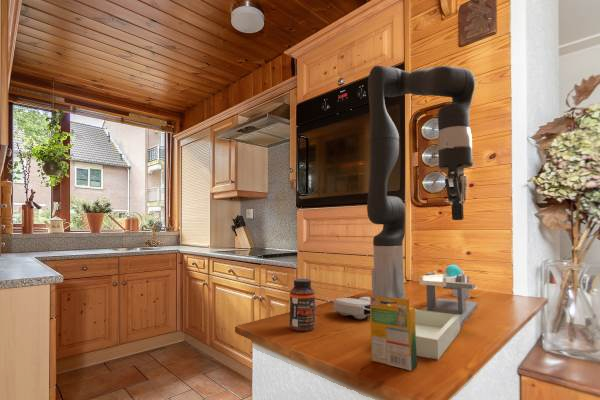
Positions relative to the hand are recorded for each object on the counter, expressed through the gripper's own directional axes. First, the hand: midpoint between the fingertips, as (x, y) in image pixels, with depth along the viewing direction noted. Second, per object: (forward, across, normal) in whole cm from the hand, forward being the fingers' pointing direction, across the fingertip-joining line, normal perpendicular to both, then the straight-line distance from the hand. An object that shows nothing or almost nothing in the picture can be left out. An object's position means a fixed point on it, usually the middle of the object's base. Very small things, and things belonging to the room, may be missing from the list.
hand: (457, 219), depth 82 cm
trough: (+19, -10, -3) cm, 22 cm away
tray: (+25, +14, -6) cm, 29 cm away
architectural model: (+26, -36, -6) cm, 44 cm away
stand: (+25, -11, -6) cm, 28 cm away
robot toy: (+25, +2, -25) cm, 36 cm away
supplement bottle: (+25, +21, -31) cm, 45 cm away
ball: (+15, -21, -6) cm, 27 cm away
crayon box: (+25, +29, -6) cm, 39 cm away
